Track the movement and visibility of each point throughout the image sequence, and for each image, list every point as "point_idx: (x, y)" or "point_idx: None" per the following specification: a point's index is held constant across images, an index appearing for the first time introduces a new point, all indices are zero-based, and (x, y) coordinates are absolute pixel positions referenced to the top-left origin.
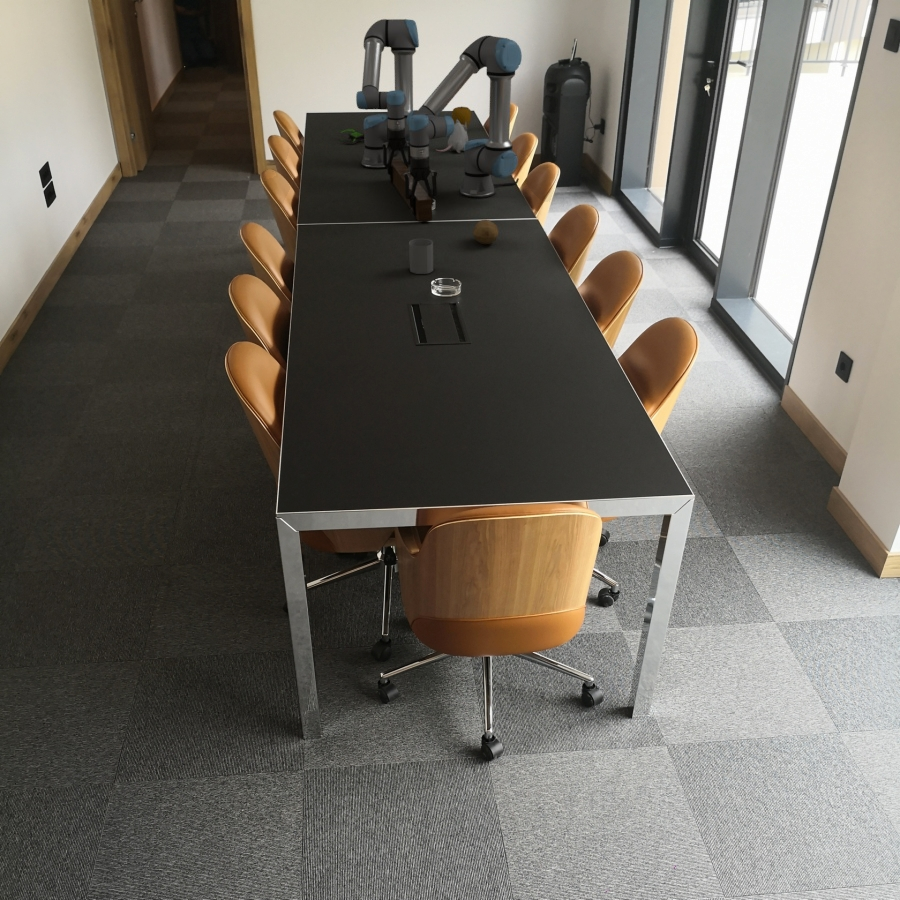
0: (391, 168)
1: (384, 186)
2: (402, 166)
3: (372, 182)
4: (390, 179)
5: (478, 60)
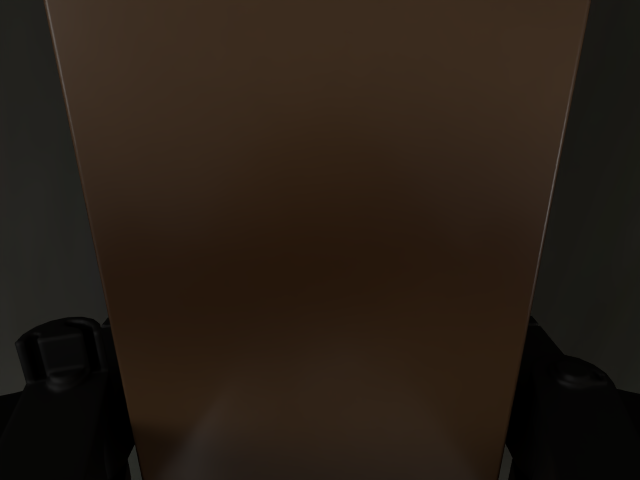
0: None
1: None
2: (217, 36)
3: None
4: None
5: None
